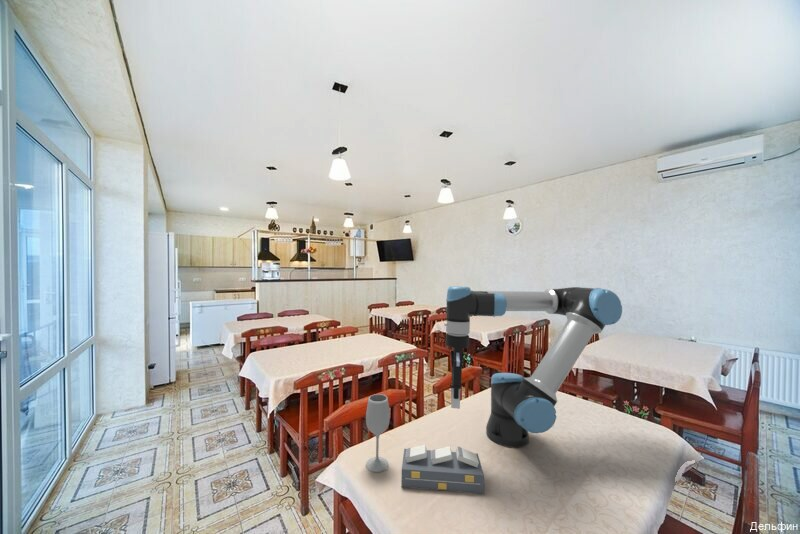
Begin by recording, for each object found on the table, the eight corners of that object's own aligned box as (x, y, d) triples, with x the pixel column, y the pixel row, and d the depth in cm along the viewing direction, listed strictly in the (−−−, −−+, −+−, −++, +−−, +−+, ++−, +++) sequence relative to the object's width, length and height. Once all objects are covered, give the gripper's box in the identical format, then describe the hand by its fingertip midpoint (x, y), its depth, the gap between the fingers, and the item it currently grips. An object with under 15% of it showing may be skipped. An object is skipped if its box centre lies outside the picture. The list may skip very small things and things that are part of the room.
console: (477, 469, 92) (477, 453, 92) (484, 494, 82) (484, 475, 82) (404, 464, 94) (404, 448, 94) (401, 487, 84) (401, 469, 84)
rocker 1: (426, 448, 91) (425, 444, 91) (426, 457, 86) (425, 452, 86) (407, 453, 91) (406, 448, 91) (407, 462, 87) (405, 457, 87)
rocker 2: (451, 450, 90) (449, 445, 90) (452, 459, 86) (450, 454, 86) (432, 455, 91) (430, 450, 91) (432, 464, 86) (431, 459, 86)
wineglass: (365, 457, 97) (366, 393, 98) (388, 456, 98) (389, 392, 98) (364, 473, 90) (365, 403, 90) (389, 472, 90) (390, 402, 91)
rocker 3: (474, 458, 89) (476, 453, 89) (477, 467, 85) (478, 462, 85) (455, 450, 90) (457, 446, 90) (457, 459, 86) (458, 454, 86)
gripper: (445, 329, 103) (443, 398, 102) (446, 337, 90) (444, 415, 89) (467, 330, 102) (465, 399, 101) (471, 338, 89) (469, 418, 88)
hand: (455, 407), depth 95 cm, fingers closed
